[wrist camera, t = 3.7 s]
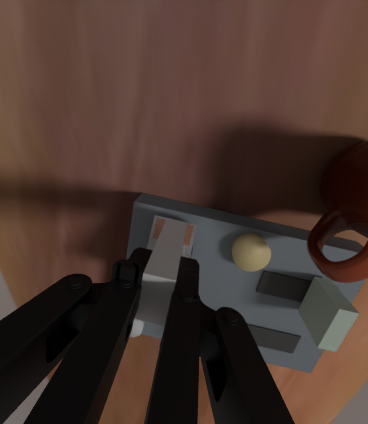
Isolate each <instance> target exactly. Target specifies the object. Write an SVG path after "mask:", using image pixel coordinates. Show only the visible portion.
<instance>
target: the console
mask: <svg viewBox="0 0 368 424" xmlns="http://www.w3.org/2000/svg"><path fill="white" fill-rule="evenodd" d="M155 215H156V216H161V217H165V218H170V219H174V220H178V221H183V222H187V223H191V224H196V225H197V227H196V232H195V237H194V241H193V246H192V251H191V255H190V258H191V259H196V260H197V261H198V263H199V265H200V270H199V296H200V299H201V301H202V302H203V303H204V304H205V305H206V306H208V307H210V308H211V309H213V310H215V311H217V309H219V308H220V307H230V308H233V309H235V310H237V311H238V312H239V313H240V314H241V315H242V316H243V317H244V319H245V321H246V323H247V325H248V327H249V329H250V331H251V333H252V336H253V338H254V340H255V342H256V344H257V346H258V348H259V350H260V352H261V354H262V356H263V359H264V361H265V363H269V364H274V365H278V366H282V367H287V368H291V369H295V370H300V371H304V372H308V373H311V372H312V370H313V368H314V366H315V365H316V363H317V361H318V360H319V358H320V356H321V355H322V353H323V351H324V349H320V348H317V346H316V344H315V342H314V340H313V339H312V337H311V335H310V333H309V331H308V329H307V327H306V325H305V323H304V322H303V320H302V318H301V316H300V314H299V312H298V309H299V307H300V305H301V303H302V301H303V299H304V297H305V295H306V293H307V291H308V289H309V287H310V285H311V283H312V281H313V279H314V277H319V278H323V279H327V280H331V279H329V278H327V277H326V276H325V275H324V274H322V273H321V272H320V270H319V269H318V268H317V267H316V265H315V264H314V262H313V261H312V259H311V257H310V256H309V253H308V250H307V238H308V235H309V233H310V232H311V231H308V230H304V229H299V228H295V227H290V226H286V225H282V224H277V223H273V222H268V221H264V220H260V219H255V218H251V217H247V216H242V215H238V214H233V213H229V212H225V211H220V210H216V209H211V208H207V207H203V206H198V205H194V204H190V203H185V202H181V201H176V200H172V199H168V198H163V197H159V196H154V195H150V194H146V193H142V194H141V195H140V196H139V197H138V198H137V199H136V200H135V201H134V206H133V212H132V219H131V226H130V233H129V240H128V247H127V254H126V259H129V257H130V255H131V254H132V252H133V250H135V249H137V248H138V247H141V248H146V249H147V245H148V241H149V237H150V233H151V229H152V225H153V221H154V217H155ZM363 248H364V246H362V245H361V244H359V243H358V242H356V241H352V240H347V239H343V238H339V237H334V236H332V237H330V238H329V239H328V240H327V241H326V243H325V244H324V247H323V253H324V255H325V257H326V258H327V259H329V260H330V261H335V262H337V261H343V260H346V259H349V258H351V257H353V256H354V255H356V254H357V253H359V252H360V251H361V250H362V249H363ZM365 280H366V279H364V280H361V281H357V282H352V283H340V282H336V281H333V280H331V281H332V282H333V283H334V285H335V286H336V287H337V288H338V289H339V290H340V292H341V293H342V294H343V295H344V296H345V297H346V299H347V300H348V301H349V302H350V303H352V302H353V300H354V298H355V297H356V295H357V293H358V291H359V290H360V288H361V286H362V285H363V283H364V281H365ZM164 327H165V326H163V325H159V324H154V323H150V322H146V321H141V320H137V319H134V322H133V328H132V331H131V334H130V336H129V337H136V336H139V335H140V334H143V335H147V336H152V337H156V338H160V339H162V335H163V331H164Z"/></svg>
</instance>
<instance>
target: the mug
mask: <svg viewBox="0 0 368 424" xmlns="http://www.w3.org/2000/svg"><path fill="white" fill-rule="evenodd" d="M320 195H321V198H322V200H323V202H324V204H325V206H326V207H327V209H328V210H329V211H327V212H326V213H325V214H324V215H323V216H322V217H321V219H320V220H319V221H318V223H317V224H316V225H315V226H314V227H313V229H312V230H311V232H310V233H309V235H308V238H307V250H308V253H309V256H310V257H311V259H312V261H313V262H314V264H315V265H316V267H317V268H318V269H319V270H320V272H321V273H322V274H324V275H325V276H326V277H327V278H329V279H331V280H333V281H336V282H340V283H352V282H357V281H361V280H364V279H367V278H368V241H367V243H366V245H365V246H364V248H363V249H362V250H361V251H360V252H359V253H357V254H356V255H354V256H353V257H351V258H349V259H346V260H343V261H337V262H335V261H330V260H329V259H327V258H326V257H325V255H324V253H323V247H324V244H325V243H326V241H327V240H328V239H329V238H330V237H332V236H333V235H335V234H337V233H339V232H342V231H345V230H354V231H356V232H358V233H360V234H361V235H363V236H365V237H367V238H368V141H367V142H361V143H358V144H355V145H352V146H350V147H348V148H346V149H345V150H343V151H342V152H340V153H339V154H338V155H336V156H335V157H334V158H333V159H332V161H331V162H330V163H329V164H328V166H327V167H326V169H325V171H324V173H323V176H322V179H321V183H320Z"/></svg>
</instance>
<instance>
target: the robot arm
mask: <svg viewBox="0 0 368 424" xmlns="http://www.w3.org/2000/svg"><path fill="white" fill-rule="evenodd" d="M186 226H187V223H182V222H178V221H174V220H169V219H166V221H165V223H164V226H163V228H162V230H161V233H160V235H159V238H158V240H157V242H156V245H155V247H154V249H153V250H150V249H146V248H141V247H138V248H137V249H135V250H133V252H132V254H131V255H130V257H129V259H125V260H120V261H117V262H116V263H115V264H113V272H112V280H111V281H110V282H107V283H92V280H91V278H90V277H88V276H87V275H84V274H71V275H68V276H66V277H64V278H62V279H61V280H59V281H58V282H56V283H55V284H53V285H52V286H50V287H49V288H47V289H46V290H44V291H43V292H41V293H40V294H39V295H37V296H36V297H34V298H33V299H31V300H30V301H28V302H27V303H25V304H24V305H22V306H21V307H19V308H18V309H16V310H15V311H14V312H12V313H11V314H9V315H8V316H6V317H5V318H3V319H2V320H0V424H3V423H4V422H5V420H6V419H7V418H8V417H9V416H10V415H11V414H12V413H13V412H14V411H15V410H16V409H17V407H18V406H19V405H20V404H21V403H22V402H23V401H24V400H25V399H26V398H27V397H28V396H29V395H30V393H31V392H32V391H33V390H34V389H35V388H36V387H37V386H38V385H39V384H40V383H41V381H42V380H43V379H44V378H45V377H46V376H47V375H48V374H49V373H50V372H51V371H52V370H53V368H54V367H55V366H56V365H57V364H58V363H59V362H60V361H61V360H62V359H63V360H62V361H61V363H60V365H59V366H58V368H57V370H56V371H55V373H54V375H53V376H52V378H51V379H50V381H49V383H48V384H47V386H46V388H45V389H44V391H43V393H42V394H41V396H40V397H39V399H38V401H37V402H36V404H35V406H34V407H33V409H32V411H31V412H30V414H29V415H28V417H27V419H26V420H25V422H24V424H98V423H99V420H100V417H101V414H102V412H103V409H104V406H105V403H106V400H107V398H108V395H109V392H110V389H111V387H112V384H113V381H114V378H115V375H116V373H117V370H118V367H119V364H120V361H121V359H122V356H123V353H124V350H125V348H126V345H127V342H128V339H129V336H130V334H131V331H132V328H133V322H134V318H135V316H136V318H135V319H137V320H142V321H146V322H150V323H154V324H159V325H163V326H165V327H164V331H163V335H162V339H161V343H160V350H159V354H158V359H157V364H156V369H155V374H154V378H153V383H152V388H151V393H150V398H149V402H148V407H147V412H146V417H145V422H144V424H197V419H198V382H199V356H200V357H201V362H202V366H203V371H204V376H205V380H206V385H207V389H208V394H209V398H210V403H211V407H212V412H213V416H214V421H215V424H295V423H294V421H293V419H292V417H291V415H290V413H289V411H288V409H287V407H286V405H285V402H284V400H283V398H282V396H281V394H280V392H279V390H278V388H277V386H276V384H275V382H274V379H273V377H272V375H271V373H270V371H269V369H268V367H267V365H266V363H265V361H264V359H263V356H262V354H261V352H260V350H259V348H258V346H257V344H256V342H255V340H254V338H253V336H252V333H251V331H250V329H249V327H248V325H247V323H246V321H245V319H244V317H243V316H242V315H241V314H240V313H239V312H238V311H237V310H235V309H233V308H230V307H220V308H219V309H217V311H215V310H213V309H211V308H210V307H208V306H206V305H205V304H204V303H203V302H202V301H201V299H200V296H199V270H200V265H199V263H198V261H197V260H196V259H191V258H187V257H183V256H181V252H182V247H183V242H184V236H185V231H186Z"/></svg>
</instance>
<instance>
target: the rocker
mask: <svg viewBox="0 0 368 424" xmlns="http://www.w3.org/2000/svg"><path fill="white" fill-rule="evenodd" d="M166 219H169V220H174V219H170V218H165V217H161V216H156V215H155V217H154V221H153V225H152V229H151V233H150V237H149V241H148V245H147V249H150V250H153V249H154V247H155V245H156V242H157V240H158V238H159V235H160V233H161V230H162V228H163V226H164V223H165V221H166ZM174 221H178V220H174ZM178 222H182V223H187V222H183V221H178ZM196 227H197V225H196V224H191V223H187V226H186V231H185V236H184V242H183V247H182V252H181V256H183V257H187V258H190V255H191V251H192V246H193V241H194V237H195V232H196ZM135 318H136V316H135ZM135 318H134V319H135ZM141 321H142V320H141Z"/></svg>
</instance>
